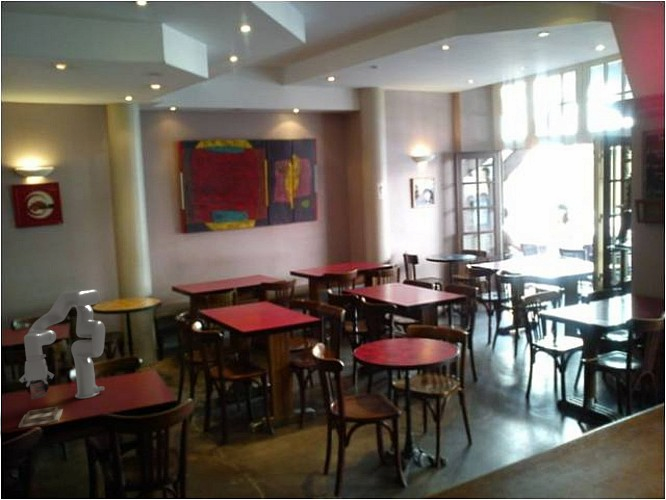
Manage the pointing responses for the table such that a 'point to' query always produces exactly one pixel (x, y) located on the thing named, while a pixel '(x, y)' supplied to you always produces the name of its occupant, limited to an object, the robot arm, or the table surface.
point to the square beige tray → (41, 416)
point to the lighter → (37, 389)
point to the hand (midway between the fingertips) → (38, 392)
